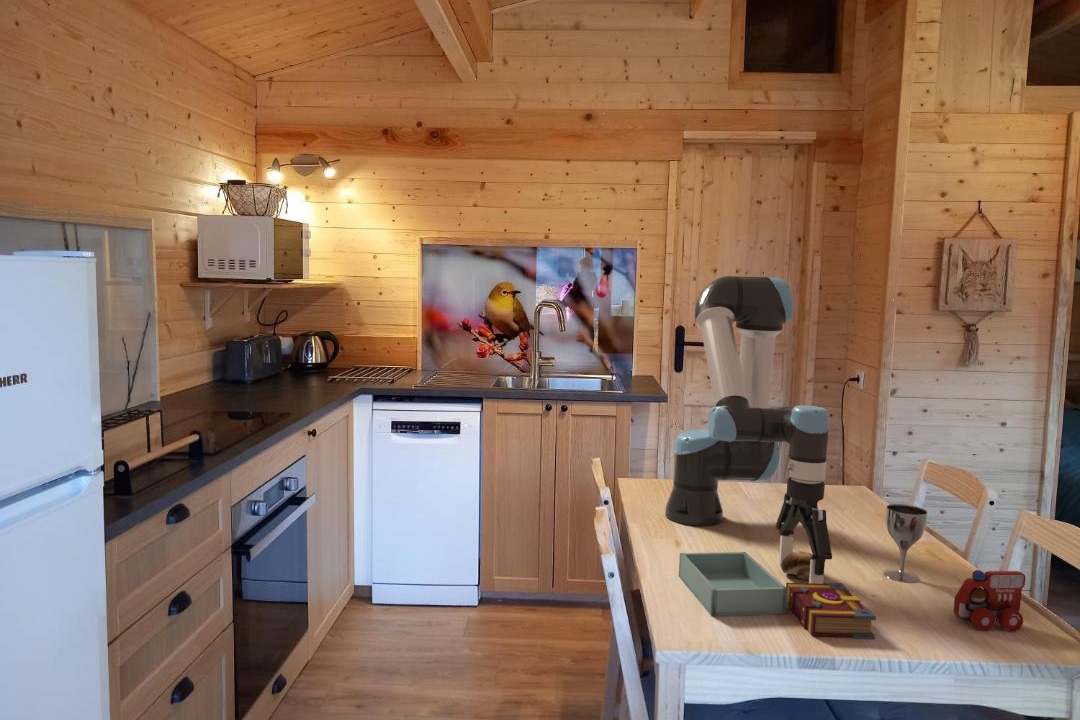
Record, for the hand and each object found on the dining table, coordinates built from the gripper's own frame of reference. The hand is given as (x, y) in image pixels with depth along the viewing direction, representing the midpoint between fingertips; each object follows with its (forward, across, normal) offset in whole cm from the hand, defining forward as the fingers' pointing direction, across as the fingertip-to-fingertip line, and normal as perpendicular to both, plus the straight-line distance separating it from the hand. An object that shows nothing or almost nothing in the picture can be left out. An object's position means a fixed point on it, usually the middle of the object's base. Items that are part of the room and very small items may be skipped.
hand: (799, 576), depth 160 cm
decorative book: (+1, +20, -5) cm, 20 cm away
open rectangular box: (0, +8, -19) cm, 21 cm away
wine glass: (0, +1, +23) cm, 23 cm away
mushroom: (0, 0, 0) cm, 0 cm away
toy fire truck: (0, +24, +25) cm, 35 cm away
